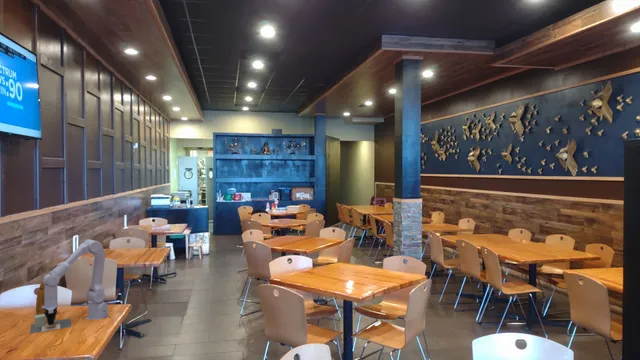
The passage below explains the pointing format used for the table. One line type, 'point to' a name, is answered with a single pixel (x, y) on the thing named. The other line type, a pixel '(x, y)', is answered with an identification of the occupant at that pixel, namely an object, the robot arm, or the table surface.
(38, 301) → the coffee package
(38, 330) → the board
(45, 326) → the walnut block
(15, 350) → the table surface
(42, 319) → the sage block
